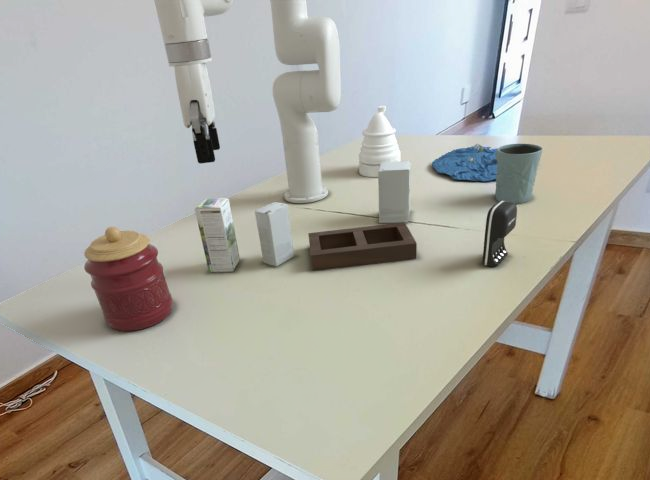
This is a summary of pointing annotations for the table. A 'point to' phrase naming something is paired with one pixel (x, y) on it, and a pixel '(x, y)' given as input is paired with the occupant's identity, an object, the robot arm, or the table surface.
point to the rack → (361, 246)
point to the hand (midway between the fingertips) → (209, 155)
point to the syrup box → (218, 234)
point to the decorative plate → (469, 163)
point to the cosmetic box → (275, 233)
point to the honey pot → (378, 145)
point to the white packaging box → (394, 191)
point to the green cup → (516, 172)
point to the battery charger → (498, 231)
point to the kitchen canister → (128, 280)
